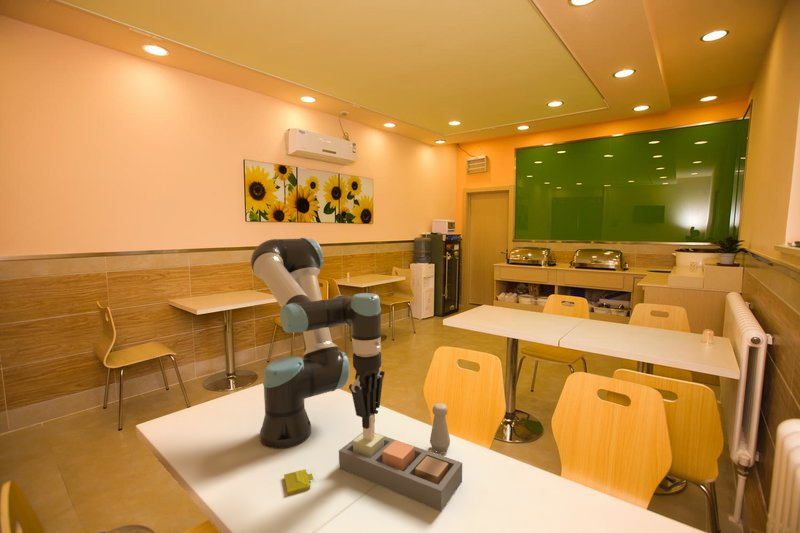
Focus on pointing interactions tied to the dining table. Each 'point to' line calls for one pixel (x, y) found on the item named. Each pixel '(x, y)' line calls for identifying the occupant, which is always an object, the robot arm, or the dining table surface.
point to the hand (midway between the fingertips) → (368, 437)
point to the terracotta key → (398, 455)
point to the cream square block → (368, 445)
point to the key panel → (404, 475)
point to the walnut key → (432, 470)
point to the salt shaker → (440, 429)
